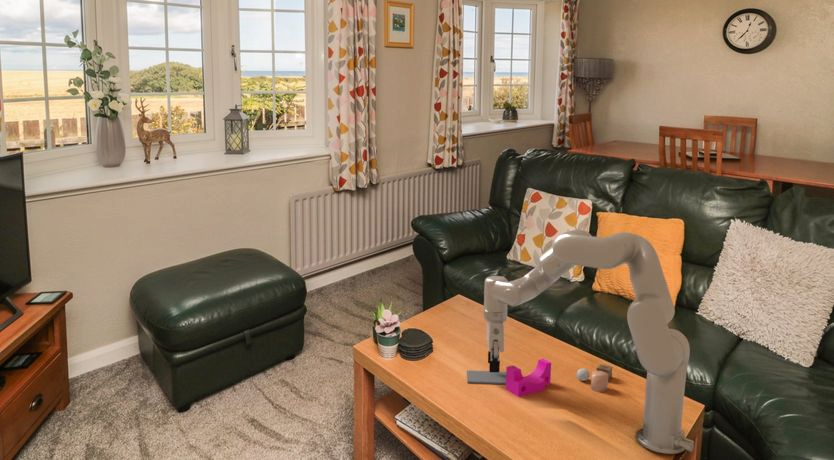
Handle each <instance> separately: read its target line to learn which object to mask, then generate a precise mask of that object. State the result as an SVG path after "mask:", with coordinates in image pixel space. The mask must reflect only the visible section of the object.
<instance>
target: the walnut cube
mask: <svg viewBox="0 0 834 460" xmlns="http://www.w3.org/2000/svg"><path fill="white" fill-rule="evenodd" d="M596 371H603V372H606V373H608V383H609V382H610V380H611V379H612V377H613V366H610V365H606V364H601V363H600V364H599V365H598V366H597V367H596Z"/></svg>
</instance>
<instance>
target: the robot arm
mask: <svg viewBox="0 0 834 460" xmlns="http://www.w3.org/2000/svg"><path fill="white" fill-rule="evenodd" d="M553 241H554V242H553V243H552V246H551V247H549V249H547V250H546V251H545V252H543V253H541V255H540V256H539V257H538V264H537V265H536V266H535V267H534V268H533V269H531V270H530V271H528V272H527V273H526V274H525V275H524V276H523V277H519V278H517V279H514V280H510V281H508V279H507V278H506V277H504V276H501V275H492V276H488V277H486V278H485V279H484V289H483V294H484V295H483V320H484V321H486V341H487V342H486V343H487V348H488V349H487V350H488V353H487V364H489V365H488V366H489V367H488V369H489V370H488V371H490V372H497V373H499V372H501V370H500V366H501V365H500V363H501V362H500V361H501V360H500V352H501V353H504V352H505V322H506V321H508V306H510V307H516V306H519V305H523V304H525V303H526V302H528V301H531V300H533V299H535V298H536V297H538V296H539V295H541V293H543V292H544V291H546V290H547V289H548V288H550V287H551V286H552V285H553V284H554V283H555V282H556V281H558V280H559V279H560V278H561V277H562V276H563V275H565V274H566V273H568V272H569V271H570V270H572V269H573V268H574V267H575V266H581V267H586V268H587V267H588V268H594V269H600V270H611V269H616V268H618V267H620V266H622V265H625V264H626V265H627V267H628V271H629V272H628V273H629V280H630V283H631V286H632V290H633V292H634V297H635V299H634V300H633V301H632V302H631V303H630V304H629V306H628V309H627V313H626V315H627V324H628V327H629V331H630V335H631V338H632V341H633V342H632V343H633V345H634V348H635V351H636V354H637V359H638V360H639V362H640V364H641V367H643V369H644V370H645V371H646V373H647V374H646V383H645V393H644V406H643V407H644V408H643V419H642V420H643V421H642V428H640V429H638V430H637V431H636V434H635V438H636V441H637V442H638V443H639V444H640V445H641V446H643V447H644V448H646V449H647V450H650V451H653V452H656V453H660V454H661V453H662V454H666V455H669V454H670V455H671V454H673V455H674V454H680V453H683V452H684V451H685V450H686V451H688V452H690V453H692V452H693V451H694V447H695V446H694V444H695V441H694V440H691V439H690V438H687V437H686V436H685V435H686V434H685V433H686V430H683V429H682V423H683V414H684V413H683V410H684V400H685V387H686V379H687V372H688V367H689V361H690V355H691V351H690V350H691V347H690V343H689V341H688V338H687V337H686V336H685V334H683V333H682V332H680V331H679V330H677V329H674V328H669V326H668V324H669V323H670V322H671V321H672V319H673V318H674V316H675V313H676V312H675V311H676V310H675V305H674V302H673V299H672V296H671V292H670V290H669V286H668V284H667V281H666V278H665V274H664V272H663V269H662V268H663V267H662V264H661V261H660V258H659V256H658V253H657V251H656V249H655V247H654V246H653V245H652V243H651V242H650V241H649V240H647V239H646V238H645V237H643V236H641V235H639V234H636V233H632V232H617V233H613V234H611V235H609V236H605V237H602V236H601V237H600V236H592V234H591V233H590V232H588V231H586V230H584V229H580V228H577V229H572V230H569V231H566V232H563V233H561V234H559V235H558V236H556V238H555V239H554V240H553Z"/></svg>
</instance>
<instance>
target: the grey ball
mask: <svg viewBox="0 0 834 460" xmlns="http://www.w3.org/2000/svg"><path fill="white" fill-rule="evenodd" d="M576 376H577V379H578V380H579V381H581V382H586V381H588V380H589V378H590V371H589V370H588V369H587V368H580V369H578V370H577V371H576Z"/></svg>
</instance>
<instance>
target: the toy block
mask: <svg viewBox="0 0 834 460" xmlns="http://www.w3.org/2000/svg"><path fill="white" fill-rule="evenodd" d="M505 368H506V369H505V370H506V371H505V372H506V385H505V390H506V391H509V393H511V394H513V395H515V396H516V397H523V396H526V395H531V394H535V393H538V392H542V391H543V392H544V391H545V387H546V386H548V385H551V377H552V375H551V374H552V362H551V361H549V360H547V359H545V358H540V359H538V361H537V364H536V366H535V368H534V369H533V371H532V372H531V373H530V374H527V375H526V376H525V375H524V376H523V373H522V369H520V368H519V367H517V366H515V365H509V366H506V367H505Z"/></svg>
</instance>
